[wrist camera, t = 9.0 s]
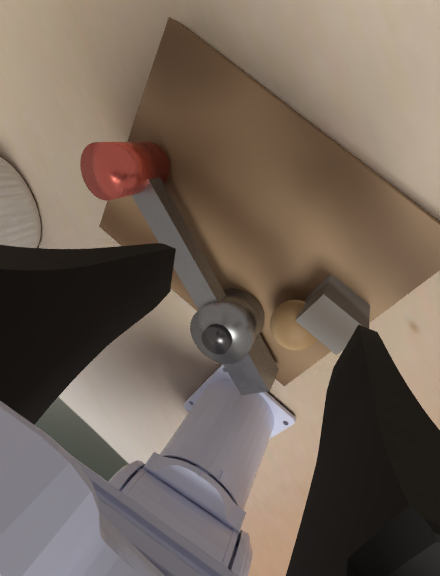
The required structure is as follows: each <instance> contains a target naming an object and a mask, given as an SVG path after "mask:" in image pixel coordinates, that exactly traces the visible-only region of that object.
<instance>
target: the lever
mask: <svg viewBox="0 0 440 576" xmlns="http://www.w3.org/2000/svg"><path fill="white" fill-rule="evenodd" d="M81 172H82V176H83V179H84V181H85V184H86V185H87V187H88V189H89V190H90V191H91V192H92V193H93V194H94V195H95V196H96V197H98V198H99V199H102V200H106V201H107V200H113V199H117V198H122V197H126V196H130V195H131V196H132V197H133V199H134V201H135V202H136V204H137V206H138V208H139V209H140V211H141V213H142V214H143V216H144V218H145V220H146V221H147V223H148V225H149V226H150V228H151V230H152V232H153V233H154V235H155V237H156V238H157V240H158V242H159V243H163V244H166V245H168V246H171V247H173V248H175V249H176V252H175V260H174V267H173V268H174V269H175V271H176V273H177V274H178V276H179V278H180V280H181V281H182V283H183V285H184V286H185V288H186V290H187V292H188V293H189V295H190V297H191V298H192V300H193V302H194V304H195V305H196V307H197V309H198V310H199V311H198V312H197V313H196V314H195V315H194V316H193V318H192V320H191V325H190V330H191V335H192V338H193V340H194V342H195V344H196V345H197V347H198V348H199V349H200V351H201V352H202V353H203V354H205V355H206V356H207V357H209V358H210V359H212V360H214V361H216V362H219V363H223V365H224V367H225V369H226V370H227V372H228V374H229V375H230V377H231V379H232V380H233V382H234V384H235V386H236V387H237V389H238V391H239V392H240V394H241V395H247V394H254V393H261V392H268V391H270V389H271V387H272V384H273V382H274V380H275V378H276V375H277V373H278V371H279V368H278V367H277V365H276V363H275V361H274V359H273V358H272V356H271V354H270V352H269V350H268V348H267V347H266V345H265V343H264V341H263V339H262V338H261V336H260V333H261V331H262V329H263V327H264V313H263V310H262V308H261V306H260V305H259V303H258V302H257V301H256V300H255V299H254V298H253V297H252V296H251V295H250V294H248V293H246V292H244V291H242V290H239V289H234V288H228V289H224V290H223V289H222V287H221V285H220V284H219V282H218V280H217V278H216V276H215V275H214V273H213V271H212V269H211V267H210V266H209V264H208V262H207V260H206V259H205V257H204V255H203V253H202V251H201V250H200V248H199V246H198V244H197V242H196V241H195V239H194V237H193V235H192V233H191V232H190V230H189V228H188V226H187V224H186V223H185V221H184V219H183V217H182V216H181V214H180V212H179V210H178V208H177V207H176V205H175V203H174V201H173V199H172V198H171V196H170V194H169V192H168V190H167V189H166V187H165V184H166V182H167V180H168V178H169V173H170V165H169V160H168V157H167V155H166V153H165V152H164V150H163V149H162V148H161V147H160V146H159V145H158V144H156V143H154V142H96V143H91V144H89V145H88V146H87V147H86V148H85V149H84V151H83V153H82V156H81Z"/></svg>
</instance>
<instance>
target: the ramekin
mask: <svg viewBox="0 0 440 576" xmlns="http://www.w3.org/2000/svg"><path fill="white" fill-rule="evenodd" d="M40 237H41V223H40V217H39V212H38V209H37V206H36V203H35V200H34V198H33V196H32V193H31V191H30V189H29V188H28V186H27V184H26V183H25V181H24V180H23V178H22V177H21V176H20V174H19V173H18V172H17V171H16V169H15V168H14V167H13V166H12V165H11V164H9V163H8V162H7V161H5V160H4V159H2V158H1V157H0V245H7V246H16V247H27V248H37V246H38V244H39V241H40Z"/></svg>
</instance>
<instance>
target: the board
mask: <svg viewBox="0 0 440 576" xmlns="http://www.w3.org/2000/svg"><path fill="white" fill-rule="evenodd" d="M128 142H154V143H156V144H158V145H159V146H160V147H161V148H162V149H163V150H164V152H165V153H166V155H167V157H168V160H169V165H170V173H169V178H168V180H167V182H166V184H165V187H166V189H167V190H168V192H169V194H170V196H171V198H172V199H173V201H174V203H175V205H176V207H177V208H178V210H179V212H180V214H181V216H182V217H183V219H184V221H185V223H186V224H187V226H188V228H189V230H190V232H191V233H192V235H193V237H194V239H195V241H196V242H197V244H198V246H199V248H200V250H201V251H202V253H203V255H204V257H205V259H206V260H207V262H208V264H209V266H210V267H211V269H212V271H213V273H214V275H215V276H216V278H217V280H218V282H219V284H220V285H221V287H222V289H223V290H224V289H228V288H234V289H239V290H242V291H244V292H246V293H248V294H250V295H251V296H252V297H253V298H254V299H255V300H256V301H257V302H258V303H259V305H260V306H261V308H262V310H263V313H264V327H263V329H262V331H261V333H260V336H261V338H262V339H263V341H264V343H265V345H266V347H267V348H268V350H269V352H270V354H271V356H272V358H273V359H274V361H275V363H276V365H277V367H278V368H279V371H278V373H277V375H276V378H275V379H276V380H278V381H279V382H280V383H281V384H282V385H283V386H285V385H287V384H288V383H289V382H291V381H292V380H293V379H295V378H296V377H297V376H299V375H300V374H301V373H303V372H304V371H305V370H307V369H308V368H309V367H311V366H312V365H313V364H315V363H316V362H317V361H319V360H320V359H321V358H323V357H324V356H325V355H327V354H328V353H329V352H331V351H332V352H333V353H334V354H336V355H337V354H338V353H339V352H341V351H342V350H344V349H345V347H346V345H347V343H348V342H349V340H350V338H351V336H352V335H353V333H354V331H355V329H356V328H357V326H358V324H359V325H361V326H363V327H366V328H368V329H369V323H370V322H371V321H372V320H374V319H375V318H376V317H378V316H379V315H380V314H382V313H383V312H384V311H386V310H387V309H388V308H390V307H391V306H392V305H394V304H395V303H396V302H398V301H399V300H400V299H402V298H403V297H404V296H406V295H407V294H408V293H410V292H411V291H412V290H414V289H415V288H416V287H418V286H419V285H420V284H422V283H423V282H424V281H426V280H427V279H428V278H430V277H431V276H432V275H434V274H435V273H437V272H438V271H439V270H440V222H439V221H438V220H437V219H435V218H434V217H433V216H431V215H430V214H429V213H427V212H426V211H425V210H424V209H422V208H421V207H420V206H418V205H417V204H416V203H414V202H413V201H412V200H411V199H409V198H408V197H407V196H405V195H404V194H403V193H401V192H400V191H399V190H397V189H396V188H395V187H394V186H392V185H391V184H390V183H388V182H387V181H386V180H384V179H383V178H382V177H381V176H379V175H378V174H377V173H375V172H374V171H373V170H371V169H370V168H369V167H368V166H366V165H365V164H364V163H362V162H361V161H360V160H358V159H357V158H356V157H354V156H353V155H352V154H351V153H349V152H348V151H347V150H345V149H344V148H343V147H341V146H340V145H339V144H338V143H336V142H335V141H334V140H332V139H331V138H330V137H328V136H327V135H326V134H325V133H323V132H322V131H321V130H319V129H318V128H317V127H315V126H314V125H313V124H311V123H310V122H309V121H308V120H306V119H305V118H304V117H302V116H301V115H300V114H298V113H297V112H296V111H295V110H293V109H292V108H291V107H289V106H288V105H287V104H285V103H284V102H283V101H282V100H280V99H279V98H278V97H276V96H275V95H274V94H272V93H271V92H270V91H268V90H267V89H266V88H265V87H263V86H262V85H261V84H259V83H258V82H257V81H255V80H254V79H253V78H252V77H250V76H249V75H248V74H246V73H245V72H244V71H242V70H241V69H240V68H238V67H237V66H236V65H235V64H233V63H232V62H231V61H229V60H228V59H227V58H225V57H224V56H223V55H222V54H220V53H219V52H218V51H216V50H215V49H214V48H212V47H211V46H210V45H209V44H207V43H206V42H205V41H203V40H202V39H201V38H199V37H198V36H197V35H195V34H194V33H193V32H192V31H190V30H189V29H188V28H186V27H185V26H184V25H182V24H180V23H179V22H177V21H175V20H173V19H172V18H170V17H169V19H168V22H167V25H166V28H165V31H164V34H163V37H162V40H161V43H160V46H159V49H158V52H157V55H156V58H155V61H154V64H153V67H152V70H151V73H150V76H149V79H148V82H147V85H146V88H145V91H144V94H143V97H142V100H141V103H140V106H139V109H138V112H137V115H136V118H135V121H134V124H133V127H132V130H131V133H130V136H129V139H128ZM99 227H101V228H102V229H103V230H104V231H105V232H106V233H108V234H109V235H110V236H111V237H112V238H113V239H115V240H116V241H117V242H118V243H119V244H120V245H121V246H129V245H139V244H152V243H159V242H158V240H157V238H156V237H155V235H154V233H153V232H152V230H151V228H150V226H149V225H148V223H147V221H146V220H145V218H144V216H143V214H142V213H141V211H140V209H139V208H138V206H137V204H136V202H135V201H134V199H133V197H132V196H131V195H130V196H126V197H122V198H117V199H113V200H108V202H107V205H106V208H105V211H104V214H103V217H102V220H101V223H100V226H99ZM171 289H172V290H174V291H175V292H176V293H177V294H178V295H179V296H180V297H182V298H183V299H184V300H185V301H186V302H187V303H189V304H190V305H191V306H192V307H193V308H194V309H196V310H197V311H199V310H198V309H197V307H196V305H195V304H194V302H193V300H192V298H191V297H190V295H189V293H188V292H187V290H186V288H185V286H184V285H183V283H182V281H181V280H180V278H179V276H178V274H177V273H176V271H175V269H174V268H173V274H172V281H171Z"/></svg>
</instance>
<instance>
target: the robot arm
mask: <svg viewBox="0 0 440 576" xmlns="http://www.w3.org/2000/svg"><path fill="white" fill-rule="evenodd" d="M175 252H176V249H175V248H173V247H171V246H168V245H166V244H163V243H152V244H139V245H129V246H119V247H108V248H94V249H42V248H27V247H16V246H7V245H0V576H248V573H249V569H250V565H251V560H252V547H251V544H250V537H249V534H248V533H246V532H244V531H242V530H241V531H240V528H241V526H242V523H243V520H244V517H245V514H246V512H245V511H244V510H243V509H244V507H245V504H246V501H247V498H248V496H249V493H250V490H251V487H252V485H253V482H254V479H255V477H256V474H257V471H258V468H259V466H260V463H261V460H262V457H263V455H264V452H265V449H266V447H267V444H268V441H269V439H270V438H272V437H274V436H275V435H277V434H279V433H280V432H282V431H284V430H285V429H287V428H288V427H290V426H292V425H293V424H294V423H295V420H296V419H295V417H294V415H292V414H291V413H290V412H289V411H288V410H287V409H285V408H284V407H283V406H282V405H281V404H280V403H279V402H277V401H276V400H275V399H274V398H273V397H272V396H271V395H269V394H268V393H267V392H261V393H254V394H247V395H241V394H240V392H239V391H238V389H237V387H236V386H235V384H234V382H233V380H232V379H231V377H230V375H229V374H228V372H227V370H226V369H225V367H224V365H223V364H222V365H221V366H220V367H219V368H218V369H217V370H216V371H215V372H214V373H213V374H212V375H211V376H210V377H209V378H208V379H207V380H206V381H205V382H204V383H203V384H202V385H201V386H200V387H199V388H198V389H197V390H196V391H195V392H194V393H193V394H192V395H191V396H190V397H189V398H188V399H187V400H186V401H185V403H184V404H183V406H184V408H185V409H186V410H187V411H188V412H189V413H188V415H187V416H186V418H185V419H184V420H183V422H182V423H181V425H180V426H179V428H178V429H177V431H176V432H175V433H174V435H173V436H172V438H171V439H170V441H169V442H168V444H167V445H166V446H165V448H164V449H163V451H162V452H161V454H160V455H159V454H157V453H156V452H154V453H153V454H152V456H151V457H150V458H149V460H148V461H147V462H146V464H144V463H143V462H142V461H139V460H138V461H135V462H133V463H131V464H128V465H126V466H124V467H122V468H121V469H120V470H119V471H118V472H117V473H116V474H115V475H114V476H113V477H112V478H111V479H110V480H109V481H108V482H107V481H106V480H105V479H103V478H102V477H101V476H99V475H98V474H96V473H95V472H94V471H92V470H91V469H89V468H88V467H87V466H85V465H84V464H82V463H81V462H80V461H78V460H77V459H75V458H74V457H73V456H71V455H70V454H69V453H68V452H67V451H66V450H64V449H63V448H62V447H61V446H60V445H59V444H58V443H56V441H54V440H53V439H52V438H51V437H50V436H49V435H47V434H46V433H45V432H43V431H42V430H40V429H39V428H38V427H36V426H35V425H34V424H35V423H36V422H37V421H38V420H39V418H40V417H41V416H42V415H43V414H44V412H45V411H46V410H47V409H48V408H49V406H50V405H51V404H52V403H53V402H54V401H55V400H56V398H57V397H58V396H59V395H60V394H61V393H62V392H63V391H64V390H65V388H66V387H67V386H68V385H69V384H70V383H71V382H72V381H73V380H74V379H75V378H76V376H77V375H78V374H79V373H80V372H81V371H82V370H83V369H84V368H85V367H86V366H87V365H88V364H89V363H90V362H91V361H92V360H93V359H94V358H95V357H96V356H97V355H98V354H99V353H100V352H101V351H102V350H103V349H104V348H105V347H106V346H107V345H109V344H110V343H111V342H112V341H113V340H115V339H116V338H117V337H118V336H120V335H121V334H122V333H123V332H125V331H126V330H127V329H129V328H130V327H131V326H132V325H134V324H135V323H136V322H138V321H139V320H140V319H141V318H143V317H144V316H145V315H146V314H148V313H149V312H150V311H151V310H153V309H154V308H155V307H156V306H157V305H158V304H159V303H160V302H161V301H162V300H163V299H164V298H165V297H166V295H167V294H168V293H169V292H170V289H171V281H172V274H173V267H174V260H175ZM286 421H287V422H286ZM239 531H240V532H239ZM238 533H239V534H238ZM286 576H440V430H439V429H438V428H437V427H436V425H435V424H434V423H433V421H432V420H431V419H430V418H429V416H428V415H427V414H426V412H425V411H424V409H423V408H422V407H421V405H420V404H419V402H418V401H417V399H416V398H415V396H414V395H413V393H412V392H411V390H410V389H409V387H408V386H407V384H406V382H405V381H404V379H403V378H402V376H401V374H400V372H399V371H398V369H397V367H396V365H395V364H394V362H393V360H392V358H391V356H390V355H389V353H388V351H387V349H386V347H385V345H384V343H383V341H382V340H381V338H380V336H379V334H378V333H377V332H375V331H373V330H371V329H368V328H366V327H363V326H361V325H359V324H358V326H357V328H356V329H355V331H354V333H353V335H352V336H351V338H350V340H349V342H348V343H347V345H346V347H345V349H344V350H343V352H342V354H341V356H340V357H339V359H338V361H337V363H336V364H335V366H334V368H333V372H332V375H331V379H330V382H329V386H328V389H327V394H326V401H325V408H324V415H323V423H322V430H321V437H320V445H319V452H318V457H317V462H316V467H315V471H314V475H313V479H312V483H311V487H310V491H309V494H308V498H307V502H306V506H305V509H304V513H303V517H302V521H301V524H300V528H299V532H298V535H297V539H296V542H295V546H294V549H293V553H292V556H291V560H290V563H289V567H288V570H287V573H286Z"/></svg>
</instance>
